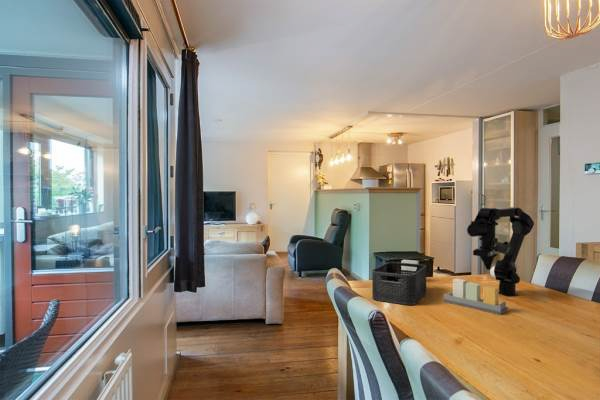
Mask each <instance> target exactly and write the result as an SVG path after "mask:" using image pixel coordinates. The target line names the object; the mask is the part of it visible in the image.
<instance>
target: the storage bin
mask: <svg viewBox="0 0 600 400" xmlns="http://www.w3.org/2000/svg"><path fill="white" fill-rule="evenodd" d="M401 266H408V267H417V269H416V271H408V270H401V269H400V267H401ZM371 272H372V273H371V274H372V275H371V276H372V280H371V282H372V283H371V286H372V290H371V291H372V295H371V296H372V299H373V300H375V301H378V302H384V303H390V304H391V303H393V304H397V305H406V306H408V305H409V306H410V305H411V306H412V305H415V304H416V303H417V302H418V301H420V300H421V298H422V297H423V296H424V295H425V294H426V293H427V264H426V265H425V264H422V263H421V264H420V263H419V264H410V263H401V262H398V261H389V262H385V263H383V264H381V265H380V266H377V267H376V268H374V269H372V271H371ZM403 272H404V273H403ZM406 272H407V273H406ZM414 273H415V274H414ZM406 274H407V275H406Z"/></svg>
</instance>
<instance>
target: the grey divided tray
mask: <svg viewBox="0 0 600 400" xmlns="http://www.w3.org/2000/svg"><path fill="white" fill-rule="evenodd" d="M443 302H444V303H448V304H453V305H457V306H459V307H460V306H461V307H464V308H465V307H466V308H469V309H473V310H477V311H483V312H486V313H490V314H495V315H499V316H501V315H503V314H504V313H506V312H507V311H508V310H509V307H507V301H503V302H501V303H500V304H499V303H498V306H497V305H492V304H488V303H483V299H480V301H474V300H469V299H466V296H465V297H463V298H460V297H455V296H453V291H451V292H449V293H446V294H445V293H444V294H443Z"/></svg>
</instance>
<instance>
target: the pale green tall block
mask: <svg viewBox="0 0 600 400" xmlns="http://www.w3.org/2000/svg"><path fill="white" fill-rule="evenodd" d="M466 299H469V300H474V301H481V284H480V283H476V282H467V283H466Z"/></svg>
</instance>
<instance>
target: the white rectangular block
mask: <svg viewBox="0 0 600 400" xmlns="http://www.w3.org/2000/svg"><path fill="white" fill-rule="evenodd" d="M466 283H468V282H467V279H462V278H458V277H457V278H454V279H452V292H453V296H455V297H460V298H463V297H465V296H466Z"/></svg>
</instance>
